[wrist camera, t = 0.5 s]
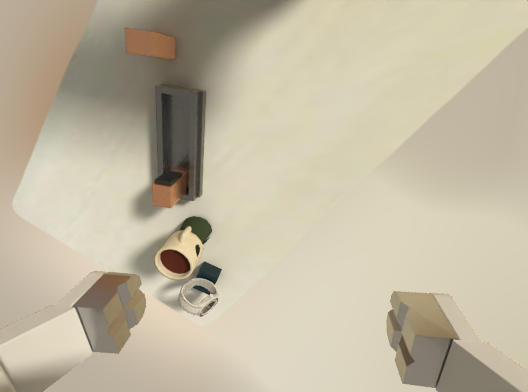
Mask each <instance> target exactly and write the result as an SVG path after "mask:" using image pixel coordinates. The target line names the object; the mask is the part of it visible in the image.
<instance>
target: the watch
mask: <svg viewBox="0 0 528 392" xmlns="http://www.w3.org/2000/svg"><path fill="white" fill-rule="evenodd" d="M221 270H222V269H220V268H218V267H215V266H213V265H211V264H209V263H207V262H204V263H203V265H202V267H201V269H200V271H199V273H198V276H197V278H194V279H191V280H189V281H187V282H186V283H185V284H184V285H183V286H182V288H181V291H180V294H179V303H180V305H181V307H182V308H183V309H184V310H185V311H187V312H188V313H190V314H193V315H199V316H200V317H201V316H204V315H205V314H207V313H208V312H209V311H210V310H212V308H213V307H214V306H215V305H216V303H217V302H218V298H217V297H218V295H219V294H218V290H217V288H216V286H215V283H216V281H217V279H218V277H219V275H220V272H221ZM190 288H195V289H197V290H199V291H201V292H204V293H206V294H208V295H209V296H207V297H206V298H205V299H203V300H202V301H201V302H200V303H198V304H197V305H194V304H192V303H190V302H189V301H187V300H186V298H185V297H184V295H183V293H184V292H185V291H187V290H188V289H190ZM210 293H211V294H210ZM193 305H194V306H193Z"/></svg>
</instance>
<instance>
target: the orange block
mask: <svg viewBox="0 0 528 392" xmlns="http://www.w3.org/2000/svg"><path fill="white" fill-rule="evenodd" d="M125 37H126V52H127V53H130V54H137V55H144V56H152V57H160V58H170V59H176V38H174V37H171V36H167V35H163V34H160V33H156V32H152V31H145V30H138V29H130V28H125Z"/></svg>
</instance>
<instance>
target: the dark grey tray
mask: <svg viewBox="0 0 528 392" xmlns="http://www.w3.org/2000/svg"><path fill="white" fill-rule="evenodd" d="M155 89H156V121H157V153H158V178H157V179H155V182H154V183H153V184H152V192H153V205H155V206H160V207H166V208H172V207H173V206H174V205H175V204H176V202H177V201H178V200H179V199H185V200H191V201H194V200H195V199H196V198H197V197H200V196H201V195H202V182H203V155H204V129H205V103H206V91H202V90H196V89H189V88H182V87H175V86H168V85H158V86H155Z"/></svg>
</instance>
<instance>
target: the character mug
mask: <svg viewBox="0 0 528 392" xmlns="http://www.w3.org/2000/svg"><path fill="white" fill-rule="evenodd" d="M211 232H212V229H211V225H210V224H209V223H208V221H207V220H205V219H203V218H201V217H195V216H193V217H189V218H187V219H186V220H185V221H184V223H183V225H182V227H181V229H180V231H176V232H175V233H173V234H172V235H170V237H169V238H168V239H167V240H166V241H165V243H164V244H163V245H162V246H161V248H160V249H159V250H158V251H157V253H156V255H155V257H154V263H155V266H156V268H157V270H158V271H159V272H160V273H161V274H162V275H163V276H165V277H167V278H169V279H173V280H183V279H185V278H187V277H189V276H190V275H191V274H192V272H193V270H194V268H195V267H196V265H197V263H198V261H199V260H200V258H201V256H202V254H203V250H204V248H203V244H204V243H205V242H206V241H207V240H208V239H209V238H210V237H209V238H208V236H209V235H210V234H211ZM207 238H208V239H207ZM206 239H207V240H206Z"/></svg>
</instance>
